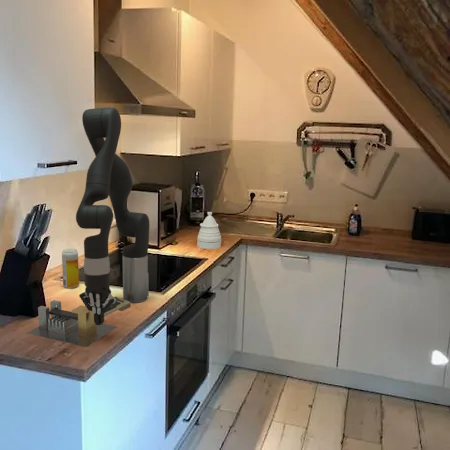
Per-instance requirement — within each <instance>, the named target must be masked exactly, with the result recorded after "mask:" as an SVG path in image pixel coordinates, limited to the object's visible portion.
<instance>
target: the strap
mask: <svg viewBox="0 0 450 450" xmlns="http://www.w3.org/2000/svg"><path fill="white" fill-rule="evenodd" d="M49 314H50V316H51V315H56V316H60V317H65V318H70V319H75V320H78V314H77V313H72V311H70V310H66V311H65V310H64V309H61V310H60V309H55V308H51V307H50V308H49Z"/></svg>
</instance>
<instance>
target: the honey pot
mask: <svg viewBox="0 0 450 450" xmlns="http://www.w3.org/2000/svg"><path fill="white" fill-rule="evenodd" d="M206 213H207V216H206V217H205V218H204V220H203V222H201V223H200V224H199V226H200V229H199V230H198V231H199V232H198V234H197V242H196V246H197V247H198V248H200V249H203V250H204V249H205V250H215V249H219V248H221V247H222V236H221V232H220V229H219V224H218V223H217V221H216V219H215V218H214V216H212V215H213V212H212V211H207V212H206Z"/></svg>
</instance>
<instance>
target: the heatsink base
mask: <svg viewBox="0 0 450 450" xmlns="http://www.w3.org/2000/svg"><path fill="white" fill-rule="evenodd" d="M49 305H50V307H49V306H44V305H40V306H38V307H37V311H38V313H37V314H38V326H37V327H35V328H33V329H31V330H29V331H27V332H26V335H29V334H30V335H33V336H38V337H42V338H45V339H51V340H54V341H59V342H63V343H67V344H71V345H76V346H80V347H84V348H87V347H89V346H91V345H92V344H93V343H96V341H98V340H99V339H101V338H103V337H104V336H106V335H107V334H109V333H110V332H112V331H114V330H115V329H116V328H117V326H114V325H111V324H106V323H103V324H101V325H96V327H97V331H96V332H94V333H93V334H91V335H89V336H88V337H84V336H79V329H78V320H75V319H70V318H65V317H60V316H56V315H51V314H49V309H51V308H55V309H60V310H62V301H60V300H54V299H53V300H50V303H49ZM65 311H67V310H65Z"/></svg>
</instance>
